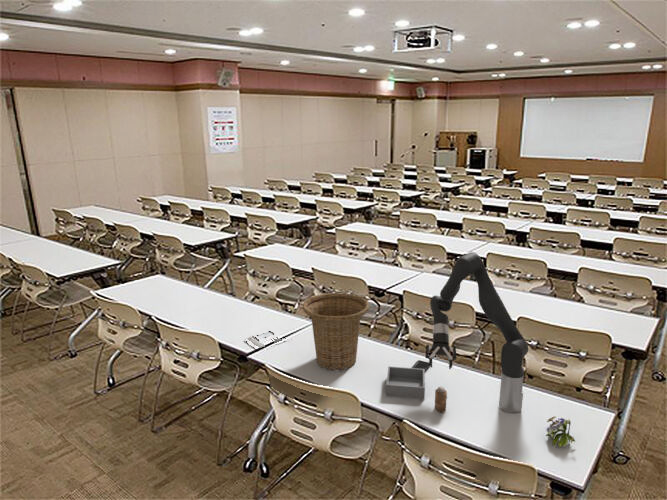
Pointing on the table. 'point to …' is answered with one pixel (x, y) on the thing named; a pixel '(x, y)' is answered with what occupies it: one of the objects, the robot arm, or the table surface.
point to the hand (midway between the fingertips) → (440, 367)
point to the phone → (421, 365)
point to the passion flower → (557, 427)
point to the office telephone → (261, 343)
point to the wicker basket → (336, 327)
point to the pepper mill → (440, 399)
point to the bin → (405, 382)
